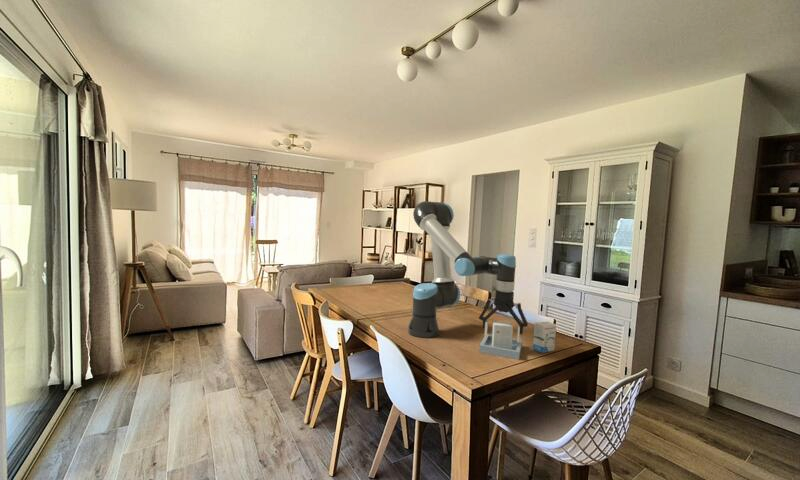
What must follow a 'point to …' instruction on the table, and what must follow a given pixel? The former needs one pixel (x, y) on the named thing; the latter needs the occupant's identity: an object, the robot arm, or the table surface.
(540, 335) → the ink box
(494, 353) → the tray
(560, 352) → the table surface
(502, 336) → the small box
